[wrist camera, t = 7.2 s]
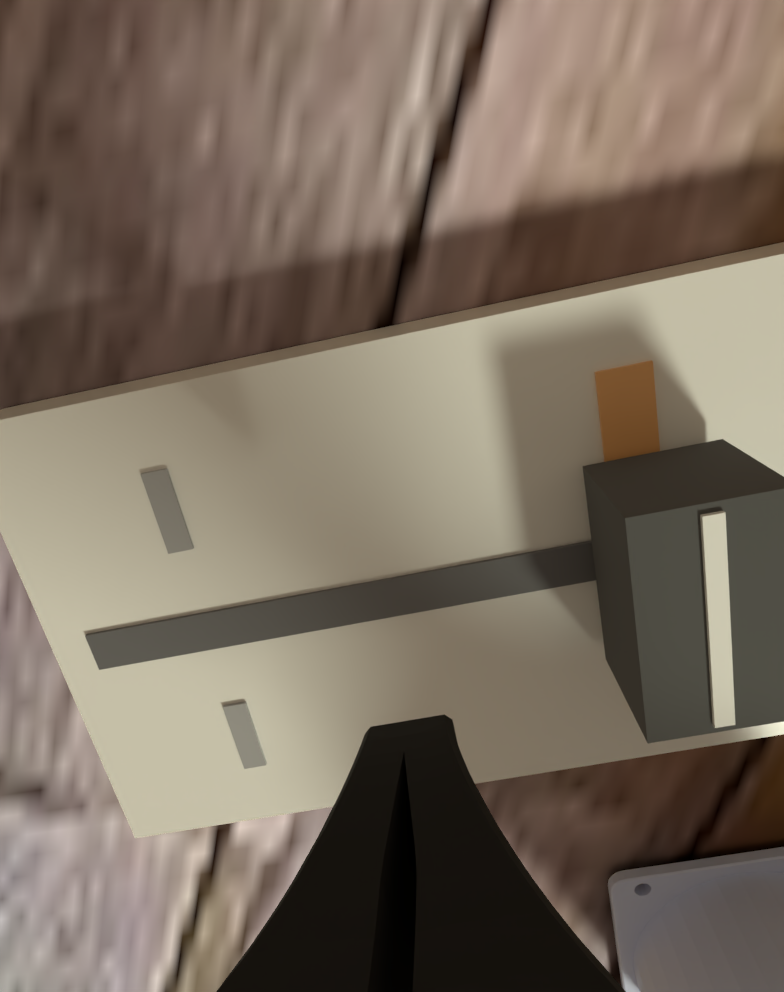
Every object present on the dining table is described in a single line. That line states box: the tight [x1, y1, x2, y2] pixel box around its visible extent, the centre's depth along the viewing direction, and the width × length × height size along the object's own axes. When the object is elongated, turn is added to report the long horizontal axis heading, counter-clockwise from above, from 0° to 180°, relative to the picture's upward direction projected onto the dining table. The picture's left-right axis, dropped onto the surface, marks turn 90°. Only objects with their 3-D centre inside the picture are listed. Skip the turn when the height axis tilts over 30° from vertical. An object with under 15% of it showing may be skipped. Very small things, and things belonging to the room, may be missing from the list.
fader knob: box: [583, 439, 784, 743], centre depth 14 cm, size 3×5×3 cm, turn 12°
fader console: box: [0, 242, 784, 838], centre depth 17 cm, size 20×12×2 cm, turn 102°
